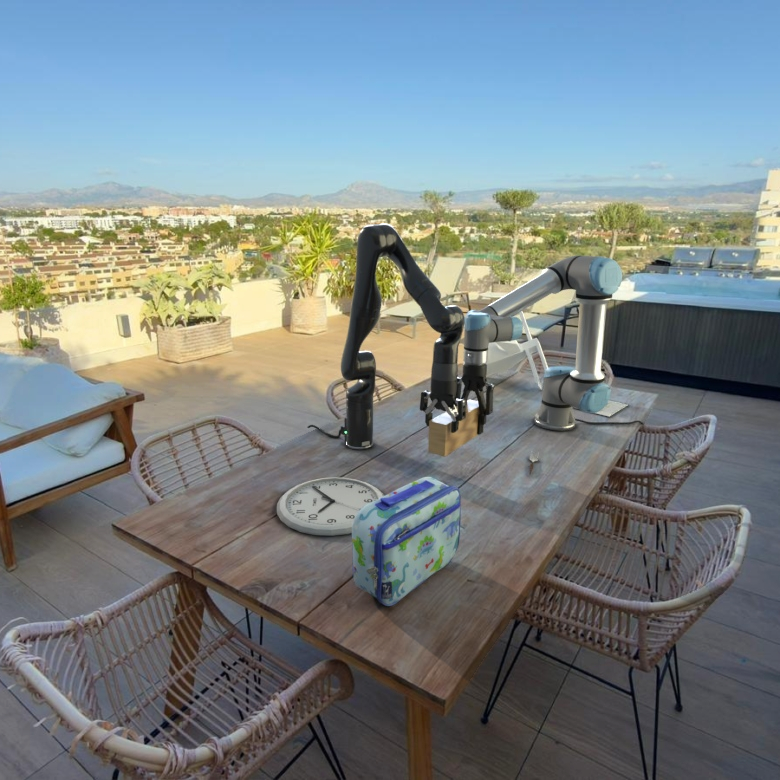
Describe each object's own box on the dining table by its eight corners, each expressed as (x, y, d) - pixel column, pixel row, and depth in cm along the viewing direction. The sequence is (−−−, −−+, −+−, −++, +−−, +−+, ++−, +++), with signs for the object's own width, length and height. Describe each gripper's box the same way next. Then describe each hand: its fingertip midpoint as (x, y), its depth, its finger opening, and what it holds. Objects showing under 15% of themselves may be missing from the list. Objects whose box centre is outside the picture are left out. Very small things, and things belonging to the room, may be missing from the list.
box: (468, 427, 175) (469, 399, 172) (483, 431, 172) (485, 402, 169) (428, 452, 157) (429, 420, 154) (444, 457, 153) (446, 425, 150)
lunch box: (381, 619, 101) (382, 525, 95) (345, 592, 109) (344, 503, 102) (464, 563, 119) (469, 480, 113) (428, 543, 126) (432, 464, 120)
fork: (525, 475, 162) (525, 469, 161) (530, 455, 176) (531, 449, 176) (534, 476, 161) (534, 470, 161) (538, 456, 175) (539, 450, 175)
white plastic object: (487, 418, 267) (468, 395, 242) (469, 346, 289) (449, 318, 264) (558, 394, 255) (545, 368, 230) (533, 321, 277) (518, 289, 252)
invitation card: (608, 416, 214) (573, 407, 224) (608, 416, 214) (573, 408, 224) (628, 404, 229) (594, 396, 238) (628, 405, 229) (594, 397, 238)
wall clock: (392, 527, 129) (268, 531, 127) (391, 533, 130) (269, 537, 127) (383, 473, 158) (282, 475, 155) (383, 478, 158) (282, 480, 156)
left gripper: (416, 374, 151) (414, 426, 156) (459, 383, 143) (456, 438, 148) (430, 369, 157) (427, 419, 162) (472, 377, 149) (468, 430, 154)
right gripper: (443, 360, 167) (440, 427, 174) (497, 369, 156) (492, 441, 163) (455, 355, 172) (452, 421, 179) (507, 364, 162) (502, 434, 169)
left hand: (441, 428), depth 155 cm, fingers open, 8 cm apart
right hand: (471, 430), depth 171 cm, fingers closed on box, 6 cm apart
